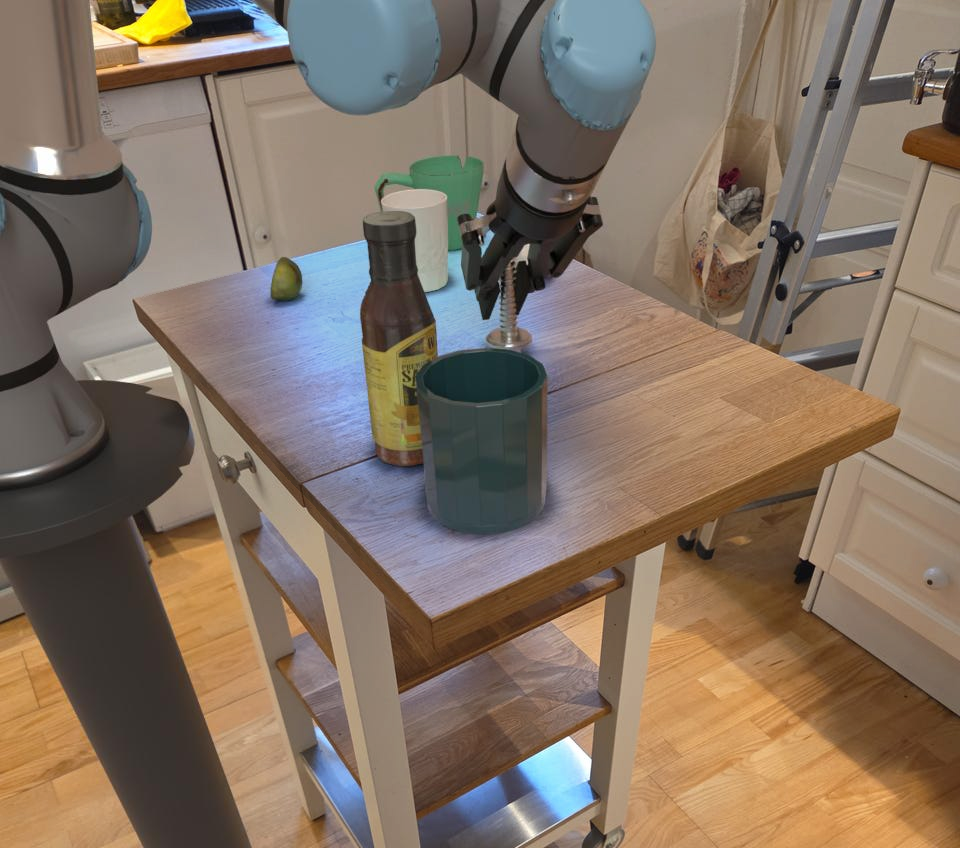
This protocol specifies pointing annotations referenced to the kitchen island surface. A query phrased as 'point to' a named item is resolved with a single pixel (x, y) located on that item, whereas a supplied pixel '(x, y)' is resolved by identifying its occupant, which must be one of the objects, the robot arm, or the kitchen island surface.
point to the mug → (443, 186)
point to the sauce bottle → (395, 336)
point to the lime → (286, 280)
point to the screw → (509, 315)
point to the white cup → (426, 232)
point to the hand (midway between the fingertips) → (497, 305)
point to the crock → (483, 438)
